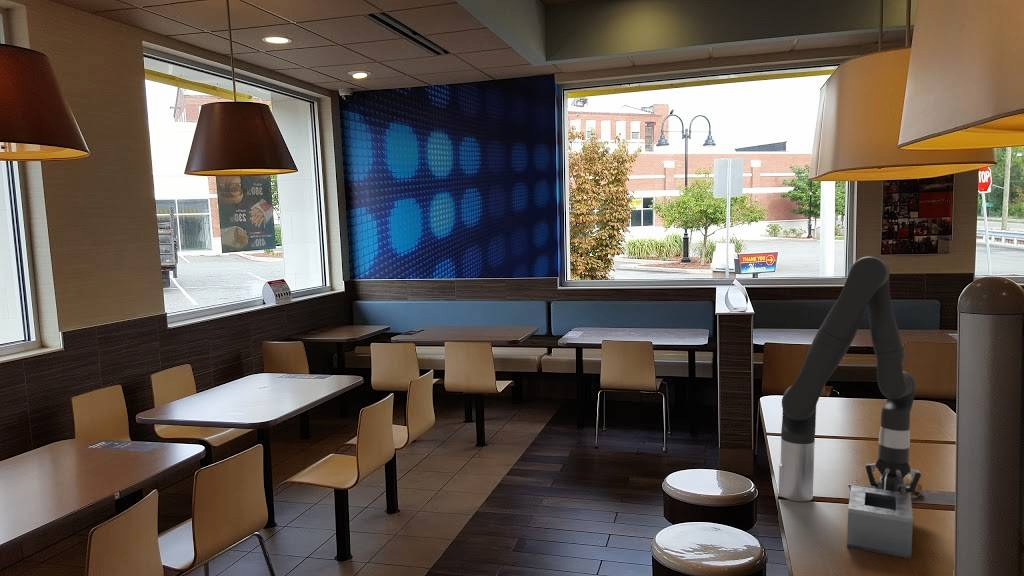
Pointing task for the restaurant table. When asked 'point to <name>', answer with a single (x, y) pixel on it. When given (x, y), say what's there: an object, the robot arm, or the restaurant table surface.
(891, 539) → the box
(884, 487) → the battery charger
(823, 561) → the restaurant table surface
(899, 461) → the robot arm
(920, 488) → the bread roll
